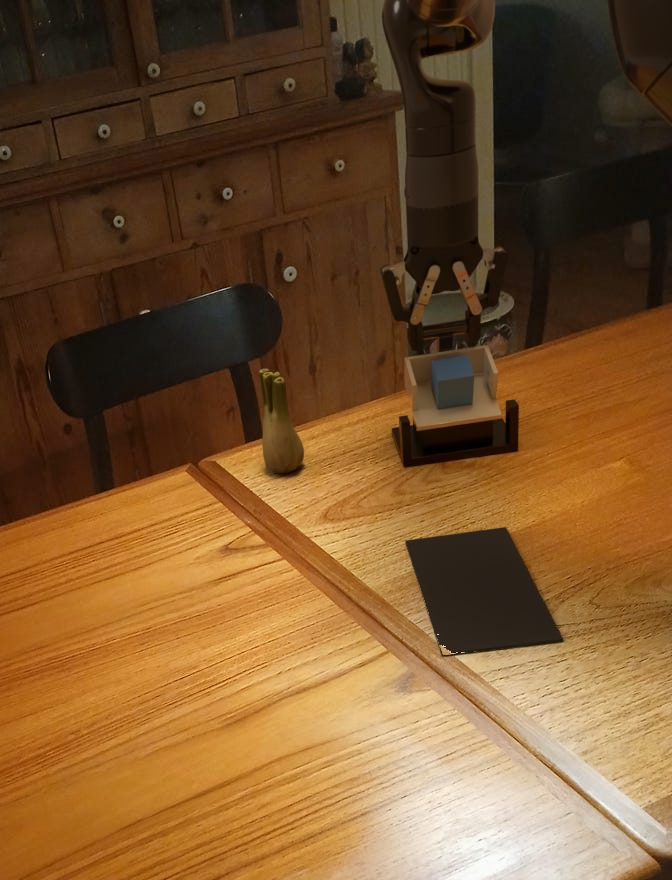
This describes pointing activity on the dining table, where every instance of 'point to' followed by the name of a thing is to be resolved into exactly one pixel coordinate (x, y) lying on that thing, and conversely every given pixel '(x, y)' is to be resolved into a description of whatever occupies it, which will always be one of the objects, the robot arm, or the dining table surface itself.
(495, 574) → the mat
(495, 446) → the stand
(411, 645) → the dining table surface
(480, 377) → the open storage bin
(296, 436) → the fennel bulb
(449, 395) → the block
